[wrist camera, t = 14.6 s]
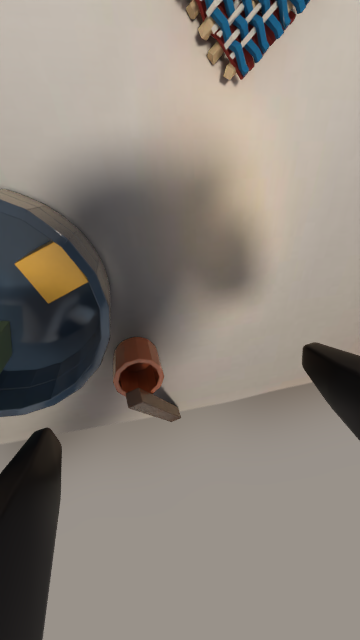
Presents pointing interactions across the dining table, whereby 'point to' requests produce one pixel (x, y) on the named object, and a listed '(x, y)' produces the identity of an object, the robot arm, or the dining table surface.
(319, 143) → the dining table surface
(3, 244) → the bowl
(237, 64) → the woven mat
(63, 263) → the mustard block
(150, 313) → the dining table surface
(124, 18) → the dining table surface
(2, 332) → the sage block
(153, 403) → the stick
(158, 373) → the holder
